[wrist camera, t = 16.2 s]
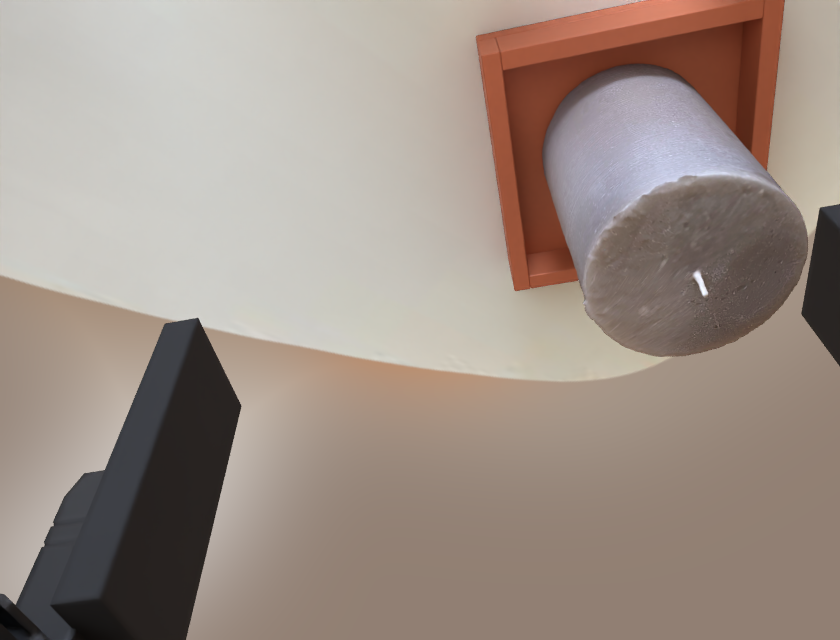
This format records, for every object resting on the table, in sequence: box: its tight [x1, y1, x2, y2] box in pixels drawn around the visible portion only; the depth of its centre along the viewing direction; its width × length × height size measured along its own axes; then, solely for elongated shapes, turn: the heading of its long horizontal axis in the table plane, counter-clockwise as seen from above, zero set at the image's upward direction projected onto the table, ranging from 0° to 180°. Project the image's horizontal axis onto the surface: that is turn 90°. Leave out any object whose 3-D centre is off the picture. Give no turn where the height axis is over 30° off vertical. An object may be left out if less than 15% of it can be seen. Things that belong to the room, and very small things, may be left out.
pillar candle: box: [542, 64, 808, 357], centre depth 36 cm, size 10×10×15 cm
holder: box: [476, 0, 785, 291], centre depth 41 cm, size 15×15×4 cm
